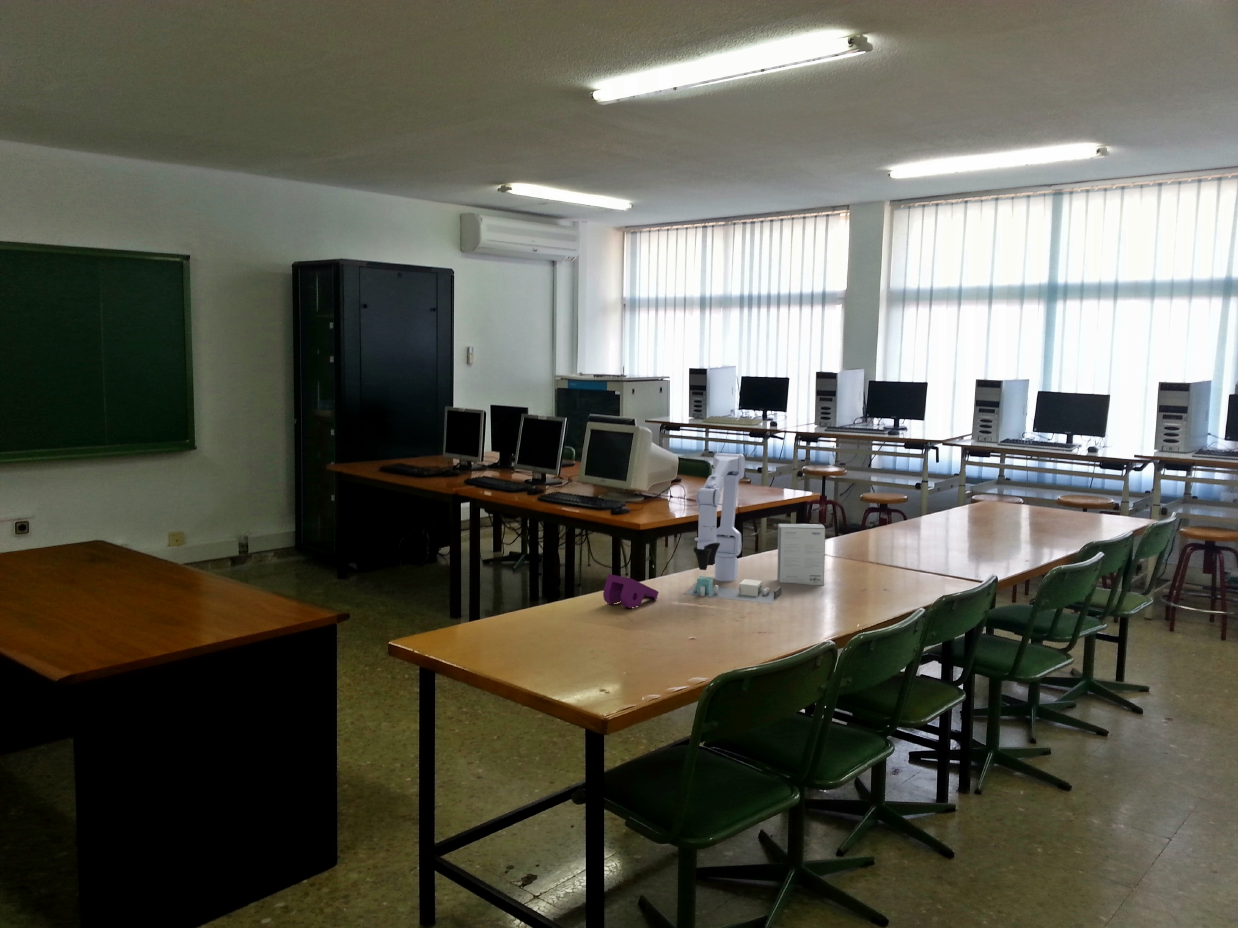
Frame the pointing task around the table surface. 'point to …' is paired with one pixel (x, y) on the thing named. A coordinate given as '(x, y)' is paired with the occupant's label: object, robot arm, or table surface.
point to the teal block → (705, 584)
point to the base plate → (737, 594)
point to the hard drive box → (801, 553)
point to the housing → (750, 587)
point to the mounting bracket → (626, 591)
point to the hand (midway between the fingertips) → (706, 567)
